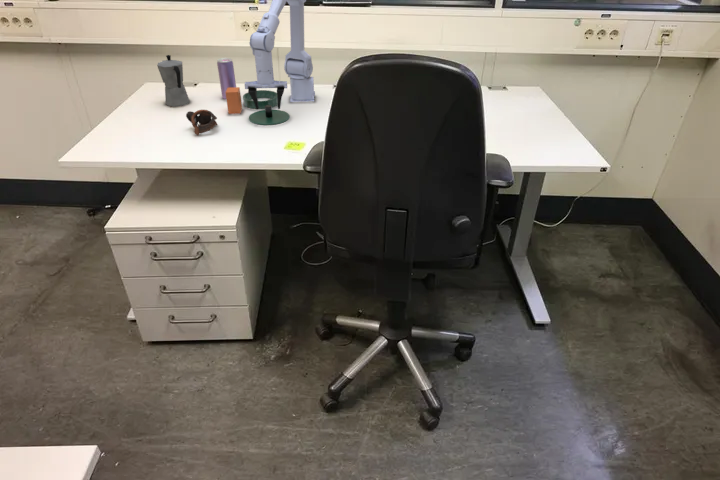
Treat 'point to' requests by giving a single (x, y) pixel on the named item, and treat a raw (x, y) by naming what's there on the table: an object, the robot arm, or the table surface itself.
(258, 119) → the tin lid
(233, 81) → the beverage can
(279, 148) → the table surface
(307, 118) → the table surface
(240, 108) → the juice carton
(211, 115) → the pottery mug
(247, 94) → the lunch tin
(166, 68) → the coffeepot
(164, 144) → the table surface
